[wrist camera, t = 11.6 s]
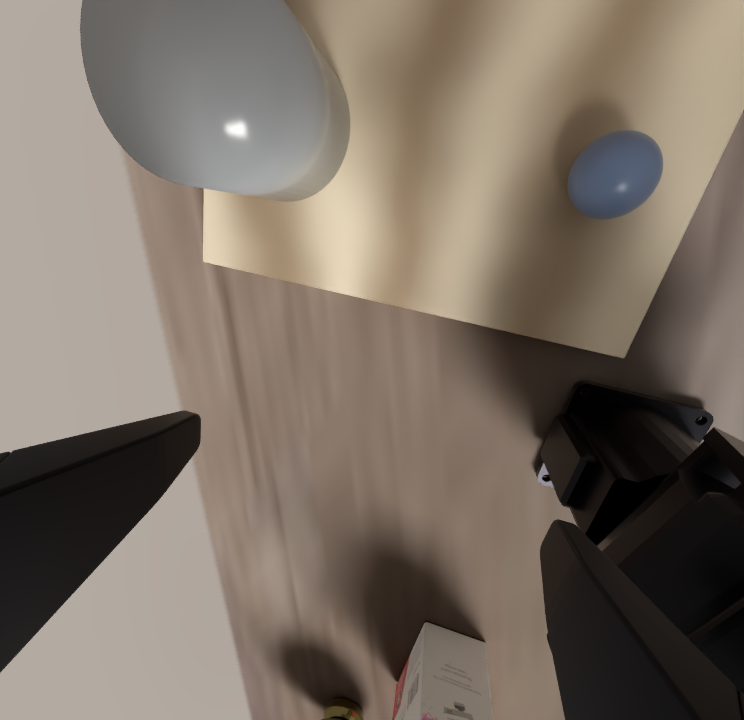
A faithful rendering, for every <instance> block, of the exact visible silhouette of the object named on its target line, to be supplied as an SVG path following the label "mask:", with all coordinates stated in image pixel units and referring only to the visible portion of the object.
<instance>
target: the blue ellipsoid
mask: <svg viewBox="0 0 744 720" xmlns="http://www.w3.org/2000/svg"><path fill="white" fill-rule="evenodd" d="M662 172H663V156H662V152H661V149H660V147H659V145H658V144H657V143H656V141H655V140H654V139H652V138H651V137H650V136H648V135H647V134H644V133H642V132H639V131H635V130H620V131H615V132H612V133H608V134H606V135H604V136H602V137H600V138H598V139H596V140H595V141H593V142H592V143H591V144H589V145H588V146H587V147H586V148H585V149H584V150H583V151H582V152H581V153H580V154H579V156H578V157H577V159H576V160H575V162H574V164H573V166H572V168H571V170H570V173H569V177H568V184H567V188H568V195H569V198H570V200H571V202H572V204H573V206H574V207H575V208H576V209H577V210H578V211H579V212H580V213H582V214H584V215H585V216H588V217H590V218H594V219H613V218H617V217H621V216H623V215H626V214H628V213H630V212H632V211H634V210H635V209H637V208H638V207H639V206H641V205H642V204H643V203H644V202H645V201H646V200H647V199H648V198H649V197H650V196H651V195H652V193H653V192H654V191H655V189H656V187H657V186H658V184H659V182H660V179H661V176H662Z"/></svg>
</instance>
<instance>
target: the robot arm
mask: <svg viewBox="0 0 744 720" xmlns="http://www.w3.org/2000/svg"><path fill="white" fill-rule="evenodd" d="M584 388H588V392H587V393H585V394H580V392H581V390H582V389H584ZM700 416H702V419H701V420H699V421H695V420H696V419H697V418H698V417H700ZM712 423H713V416H712V415H711V414H710V413H709V412H707V411H706V410H704V409H702V408H698V407H693V406H689V405H685V404H681V403H677V402H673V401H668V400H664V399H660V398H656V397H652V396H648V395H643V394H639V393H635V392H631V391H627V390H623V389H618V388H614V387H610V386H606V385H602V384H598V383H593V382H589V381H580V382H578V383H576V384H575V385H574V387H573V389H572V391H571V393H570V396H569V398H568V400H567V402H566V405H565V407H564V409H563V412H562V414H559V415H558V416H556V417H555V419H554V422H553V424H552V426H551V429H550V431H549V433H548V436H547V438H546V440H545V442H544V445H543V447H542V449H541V452H540V455H541V457H542V459H541V462H540V464H539V466H538V469H537V471H536V476H537V479H538V482H539V483H540V484H542V485H545V486H549V487H552V488H554V489H555V491H556V494H557V496H558V499H559V501H560V502H561V504H562V505H563V506H565V507H568V508H570V510H571V512H572V514H573V517H574V519H575V521H576V524H577V526H578V527H577V526H576V525H574V524H572V523H569V522H566V521H562V520H555V521H553V523H552V524H551V526H550V528H549V530H548V532H547V534H546V536H545V538H544V540H543V542H542V545H541V548H540V561H541V571H542V582H543V593H544V604H545V614H546V622H547V629H548V634H547V640H548V643H549V646H550V649H551V652H552V655H553V660H554V665H555V670H556V675H557V680H558V685H559V690H560V695H561V700H562V705H563V711H564V716H565V720H744V442H743V441H741V440H739V439H737V438H735V437H733V436H731V435H729V434H727V433H725V432H723V431H721V430H719V429H717V428H715V427H713V428H712V429H711V430H710V431H709V432H708V433H707V431H708V430H709V428H710V426H711V425H712ZM706 433H707V434H706ZM705 434H706V435H705ZM200 438H201V418H200V416H199V415H198V414H196V413H192V412H189V411H179V412H175V413H171V414H167V415H162V416H158V417H154V418H149V419H146V420H141V421H137V422H133V423H129V424H124V425H120V426H116V427H111V428H107V429H103V430H98V431H94V432H90V433H86V434H81V435H77V436H73V437H69V438H65V439H61V440H56V441H52V442H47V443H43V444H39V445H35V446H30V447H27V448H22V449H18V450H14V451H12V452H11V453H10V452H4V453H0V672H1V671H2V670H3V669H4V668H5V667H6V666H7V664H9V663H10V662H11V660H12V659H13V658H14V657H15V656H16V655H17V654H18V653H19V652H20V651H21V650H22V648H23V647H24V646H25V645H26V644H27V643H28V642H29V641H30V640H31V639H32V637H33V636H34V635H35V634H36V633H37V632H38V631H39V630H40V629H41V628H42V627H43V625H45V623H46V622H47V621H48V620H49V619H50V618H51V617H52V616H53V615H54V613H56V611H57V610H58V609H59V608H60V607H61V606H62V605H63V604H64V603H65V602H66V600H68V598H69V597H70V596H71V595H72V594H73V593H74V592H75V591H76V590H77V588H79V586H80V585H81V584H82V583H83V582H84V581H85V580H86V579H87V578H88V577H89V576H90V575H91V573H92V572H93V571H94V570H95V569H96V568H97V567H98V566H99V565H100V564H101V563H102V561H103V560H104V559H105V558H106V557H107V556H108V555H109V554H110V553H111V552H112V551H113V549H114V548H115V547H116V546H117V545H118V544H119V543H120V542H121V541H122V540H123V539H124V538H125V536H126V535H127V534H128V533H129V532H130V531H131V530H132V529H133V528H134V527H135V526H136V524H137V523H138V522H139V521H140V520H141V519H142V518H143V517H144V516H145V515H146V514H147V513H148V511H149V510H150V509H151V508H152V507H153V506H154V505H155V504H156V503H157V501H158V500H159V499H160V498H161V497H162V495H163V494H164V493H165V492H166V491H167V489H168V488H169V487H170V485H171V484H172V483H173V481H174V480H175V479H176V477H177V476H178V475H179V473H180V472H181V471H182V469H183V468H184V466H185V465H186V464H187V463H188V461H189V460H190V459H191V457H192V456H193V455H194V454H195V452H196V451H197V449H198V447H199V445H200ZM702 439H703V440H704V442H703V443H702V444H701V445H700V442H701V441H702ZM546 474H549V476H548V477H542V476H543V475H546Z"/></svg>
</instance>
